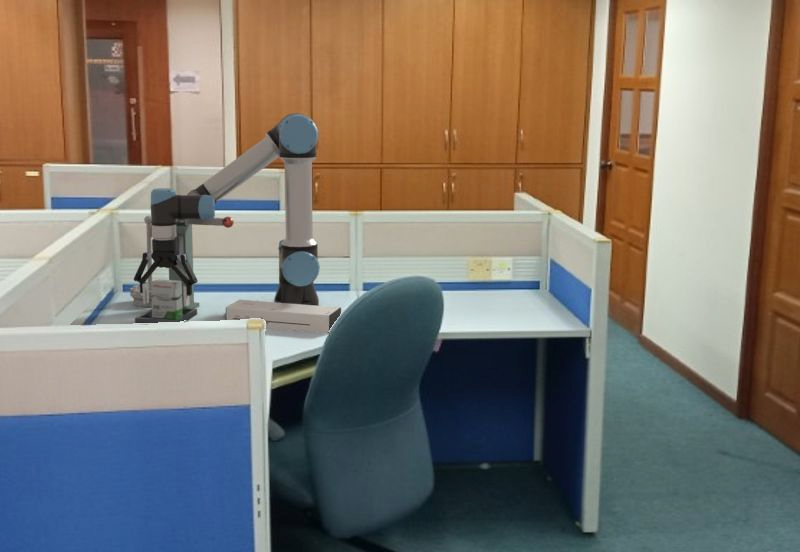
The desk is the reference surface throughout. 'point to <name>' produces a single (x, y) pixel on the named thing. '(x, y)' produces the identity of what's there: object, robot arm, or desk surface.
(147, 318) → the tray
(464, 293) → the desk surface
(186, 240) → the column
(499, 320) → the desk surface
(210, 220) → the lever
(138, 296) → the flag stand
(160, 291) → the ink box
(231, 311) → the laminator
